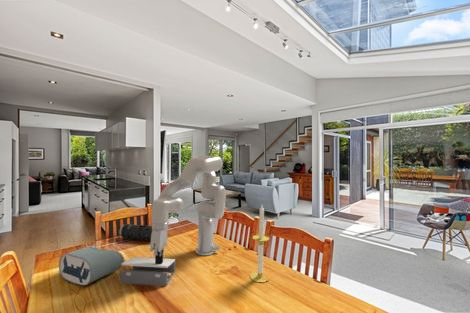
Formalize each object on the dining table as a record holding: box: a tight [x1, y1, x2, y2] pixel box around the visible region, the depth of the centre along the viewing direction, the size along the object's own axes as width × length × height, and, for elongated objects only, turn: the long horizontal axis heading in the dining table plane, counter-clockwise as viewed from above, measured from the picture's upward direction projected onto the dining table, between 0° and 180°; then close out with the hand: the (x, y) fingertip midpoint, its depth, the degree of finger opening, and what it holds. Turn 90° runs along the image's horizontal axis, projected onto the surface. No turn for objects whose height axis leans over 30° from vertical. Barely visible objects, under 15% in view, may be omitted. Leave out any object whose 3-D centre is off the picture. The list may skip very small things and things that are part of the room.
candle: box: [249, 204, 270, 283], centre depth 114 cm, size 10×10×38 cm
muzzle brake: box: [118, 223, 152, 242], centre depth 159 cm, size 10×28×10 cm, turn 83°
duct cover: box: [121, 256, 176, 268], centre depth 112 cm, size 22×12×1 cm, turn 86°
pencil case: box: [58, 244, 125, 286], centre depth 114 cm, size 22×19×13 cm
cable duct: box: [120, 260, 176, 287], centre depth 112 cm, size 22×13×6 cm, turn 86°
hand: (159, 263), depth 109 cm, fingers closed
